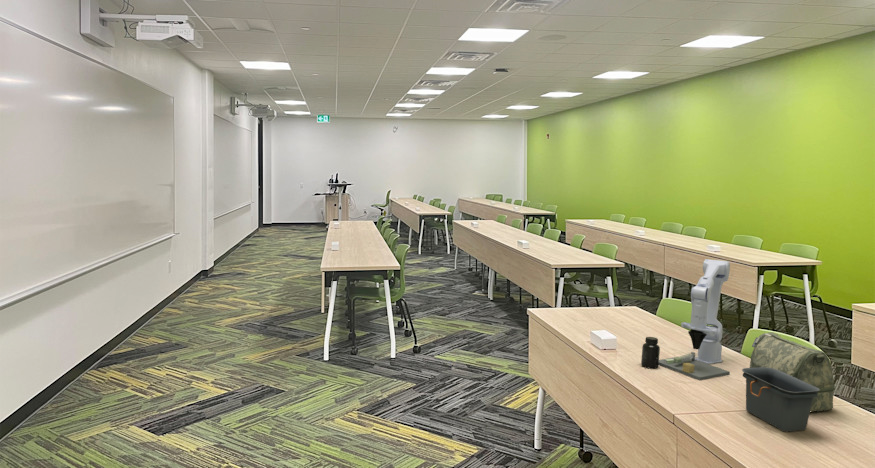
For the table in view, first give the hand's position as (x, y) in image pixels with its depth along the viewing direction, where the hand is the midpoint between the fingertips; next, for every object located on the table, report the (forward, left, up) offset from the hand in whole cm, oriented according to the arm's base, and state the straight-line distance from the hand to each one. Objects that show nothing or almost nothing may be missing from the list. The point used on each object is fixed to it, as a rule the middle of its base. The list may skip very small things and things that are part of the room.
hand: (696, 348), depth 230 cm
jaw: (-1, -6, -7) cm, 10 cm away
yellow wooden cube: (+6, +1, -8) cm, 10 cm away
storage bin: (+18, +44, -10) cm, 49 cm away
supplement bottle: (+12, -12, -10) cm, 20 cm away
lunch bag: (-6, +34, -10) cm, 36 cm away
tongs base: (-2, -3, -9) cm, 10 cm away
